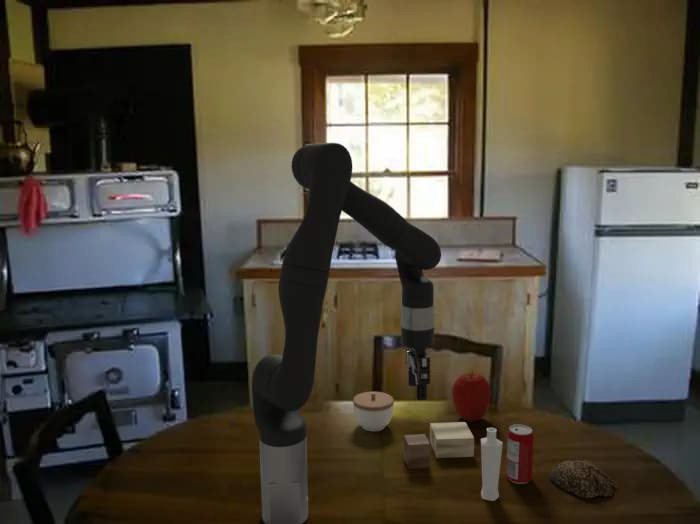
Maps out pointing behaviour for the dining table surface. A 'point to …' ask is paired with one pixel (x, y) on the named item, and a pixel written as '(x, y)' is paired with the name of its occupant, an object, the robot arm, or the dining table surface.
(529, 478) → the soda can
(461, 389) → the apple
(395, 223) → the robot arm
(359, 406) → the lidded jar
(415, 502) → the dining table surface
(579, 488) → the bread roll
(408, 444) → the walnut block
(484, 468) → the perfume bottle
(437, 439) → the birch block
